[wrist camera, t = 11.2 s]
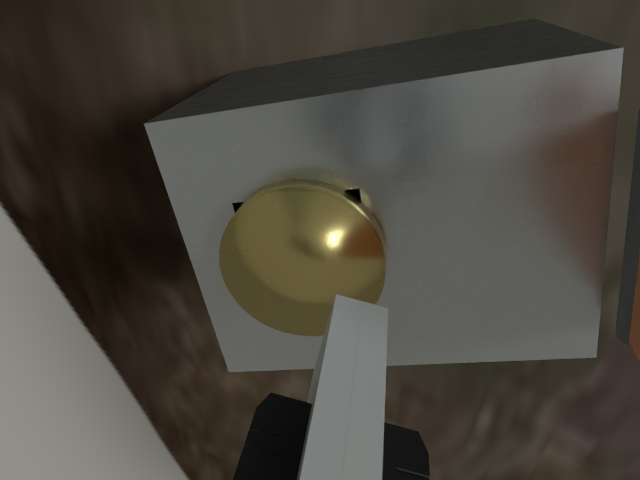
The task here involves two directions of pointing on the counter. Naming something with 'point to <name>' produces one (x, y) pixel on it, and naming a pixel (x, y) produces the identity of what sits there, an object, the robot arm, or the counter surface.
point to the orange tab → (631, 264)
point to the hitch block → (421, 185)
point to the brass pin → (302, 254)
